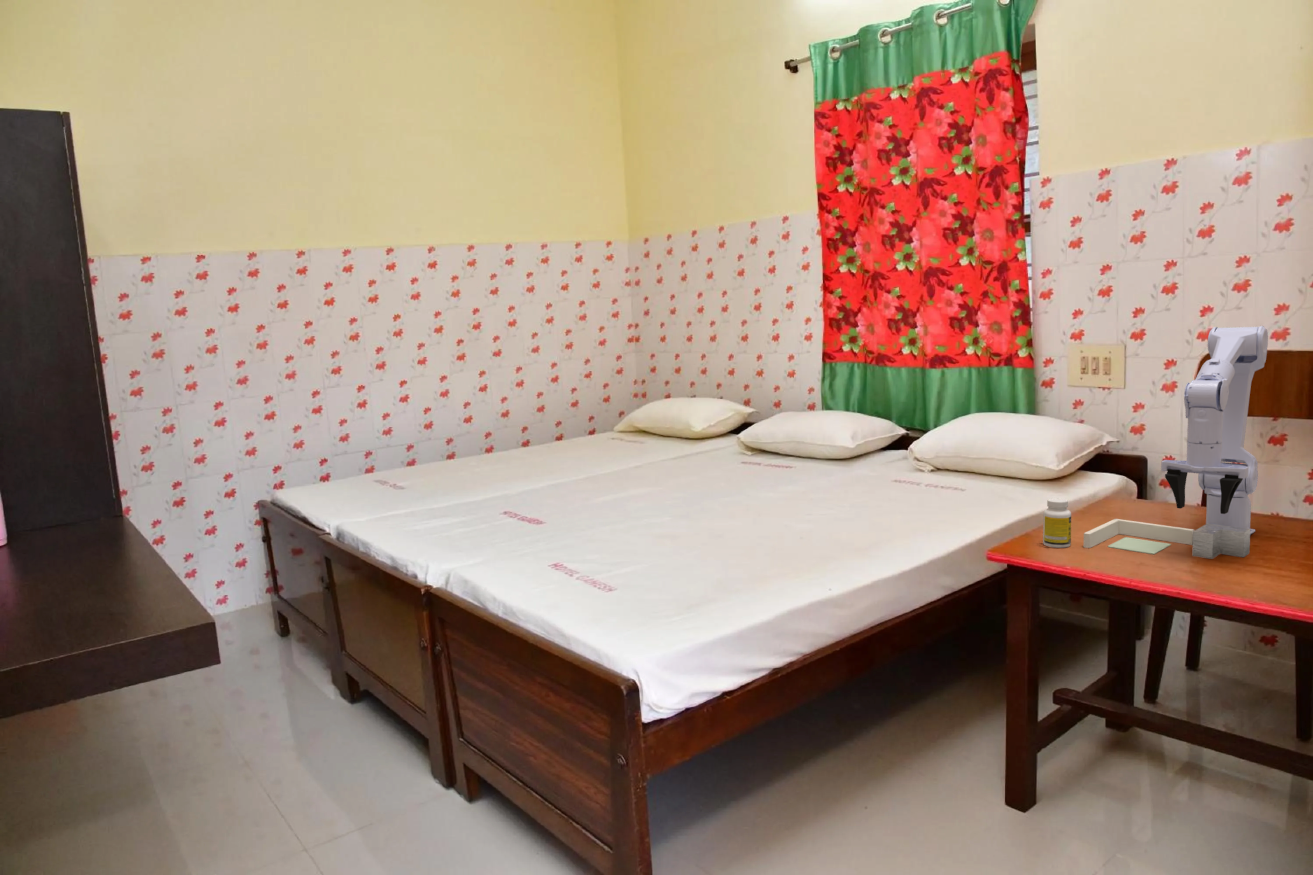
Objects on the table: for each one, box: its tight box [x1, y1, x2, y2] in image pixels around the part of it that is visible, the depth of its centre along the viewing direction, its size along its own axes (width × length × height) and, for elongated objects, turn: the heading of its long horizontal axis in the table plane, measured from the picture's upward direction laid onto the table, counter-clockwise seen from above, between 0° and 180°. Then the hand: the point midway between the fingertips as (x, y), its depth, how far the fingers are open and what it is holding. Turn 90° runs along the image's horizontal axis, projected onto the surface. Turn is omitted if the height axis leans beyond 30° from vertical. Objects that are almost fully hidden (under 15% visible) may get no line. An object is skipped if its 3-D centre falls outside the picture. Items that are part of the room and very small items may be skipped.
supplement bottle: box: [1042, 497, 1072, 549], centre depth 186 cm, size 5×5×10 cm
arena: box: [1083, 518, 1195, 549], centre depth 182 cm, size 16×16×3 cm
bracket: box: [1191, 523, 1251, 560], centre depth 173 cm, size 8×8×5 cm
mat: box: [1107, 536, 1172, 555], centre depth 182 cm, size 9×9×1 cm
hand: (1202, 510), depth 172 cm, fingers open, 7 cm apart
